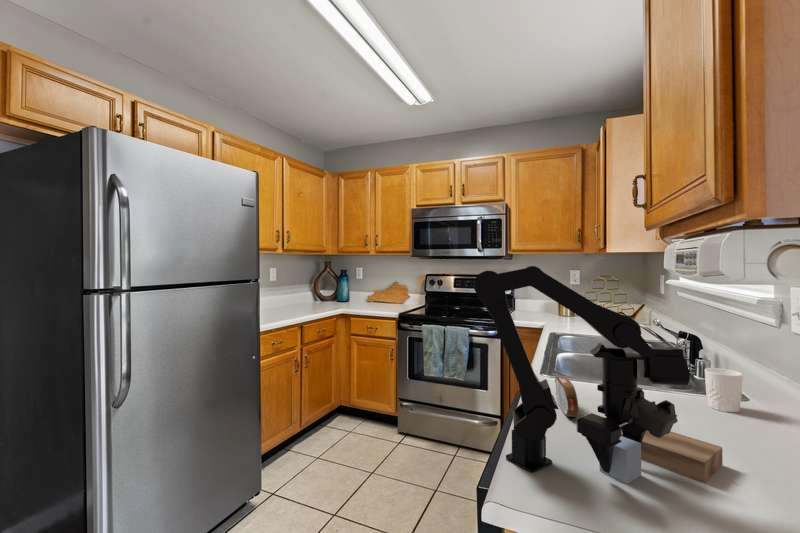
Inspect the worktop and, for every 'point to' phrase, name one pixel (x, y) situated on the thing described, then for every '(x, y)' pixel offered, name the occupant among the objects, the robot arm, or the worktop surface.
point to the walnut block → (682, 454)
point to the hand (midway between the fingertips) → (620, 464)
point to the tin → (566, 396)
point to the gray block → (625, 460)
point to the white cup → (723, 389)
